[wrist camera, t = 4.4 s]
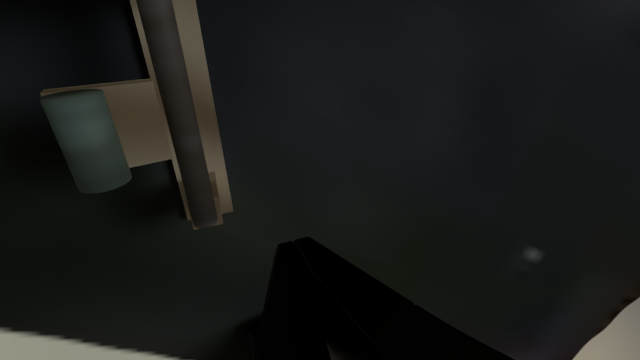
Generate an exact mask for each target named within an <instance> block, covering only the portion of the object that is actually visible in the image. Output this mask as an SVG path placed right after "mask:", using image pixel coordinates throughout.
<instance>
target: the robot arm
mask: <svg viewBox="0 0 640 360" xmlns="http://www.w3.org/2000/svg"><path fill="white" fill-rule="evenodd" d="M247 334H248V339H249V344H250V349H251V354H252V359H253V360H514V359H512V358H510V357H508V356H506V355H504V354H502V353H501V352H499V351H497V350H495V349H493V348H491V347H489V346H487V345H485V344H483V343H481V342H479V341H478V340H476V339H474V338H472V337H470V336H468V335H466V334H465V333H463V332H461V331H459V330H457V329H455V328H454V327H452V326H450V325H449V324H447V323H445V322H444V321H442V320H440V319H439V318H437V317H435V316H434V315H432V314H431V313H429V312H427V311H426V310H424V309H423V308H421V307H419V306H418V305H416V306H415V305H414V303H413V302H411V301H410V300H408V299H407V298H405V297H403V296H402V295H400V294H399V293H397V292H396V291H394V290H392V289H391V288H389V287H388V286H386V285H384V284H383V283H381V282H380V281H378V280H377V279H375V278H373V277H372V276H370V275H369V274H367V273H366V272H364V271H362V270H361V269H359V268H358V267H356V266H355V265H353V264H351V263H350V262H348V261H347V260H345V259H343V258H342V257H340V256H339V255H337V254H336V253H334V252H332V251H331V250H329V249H328V248H326V247H325V246H323V245H321V244H320V243H318V242H317V241H315V240H313V239H312V238H310V237H304V238H300V239H297V240H295V241H294V242H292V241H289V242H285V243H281V244H278V245H277V247H276V251H275V256H274V261H273V266H272V271H271V276H270V281H269V286H268V290H267V295H266V300H265V305H264V310H263V315H262V320H261V322H260V323H257V324H253V325H251V326H249V327H248V329H247Z"/></svg>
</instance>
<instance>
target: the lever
mask: <svg viewBox="0 0 640 360" xmlns="http://www.w3.org/2000/svg"><path fill="white" fill-rule="evenodd" d="M136 2H137V6H138V10H139V14H140V18H141V22H142V26H143V29H144V33H145V37H146V41H147V45H148V49H149V53H150V57H151V61H152V65H153V69H154V72H155V76H156V80H157V84H158V88H159V92H160V96H161V100H162V104H163V108H164V111H165V115H166V119H167V123H168V127H169V131H170V135H171V139H172V143H173V147H174V150H175V154H176V158H177V162H178V166H179V170H180V174H181V178H182V182H183V186H184V189H185V193H186V197H187V201H188V205H189V209H190V213H191V217H192V221H193V225H194V226H195V227H197V228H207V227H210V226H212V225H214V224H215V223H216V222H217V221H218V217H217V212H216V207H215V203H214V198H213V193H212V188H211V184H210V179H209V174H208V169H207V165H206V160H205V155H204V150H203V146H202V141H201V136H200V131H199V126H198V122H197V117H196V112H195V107H194V103H193V98H192V93H191V88H190V84H189V79H188V74H187V69H186V65H185V60H184V55H183V50H182V46H181V41H180V36H179V31H178V27H177V22H176V17H175V12H174V8H173V3H172V0H136ZM40 94H41V97H40V98H39V100H40V102H41V105H42V107H43V109H44V111H45V114H46V116H47V118H48V121H49V123H50V125H51V127H52V130H53V132H54V134H55V137H56V139H57V141H58V144H59V146H60V148H61V150H62V153H63V155H64V157H65V160H66V162H67V164H68V167H69V169H70V171H71V173H72V176H73V178H74V180H75V183H76V185H77V187H78V189H79V191H80V192H82V193H88V194H93V193H101V192H106V191H110V190H113V189H116V188H118V187H121V186H123V185H125V184H126V183H128V182H129V181H130V180H131V178H132V175H131V172H130V169H129V168H131V167H136V166H141V165H145V164H150V163H155V162H160V161H164V160H169V159H173V157H172V153H171V149H170V145H169V141H168V137H167V134H166V130H165V126H164V122H163V118H162V115H161V111H160V107H159V103H158V99H157V96H156V92H155V88H154V84H153V81H152V79H151V78H150V79H140V80H130V81H121V82H111V83H101V84H92V85H82V86H72V87H63V88H53V89H44V90H43V91H42V92H41V93H40Z"/></svg>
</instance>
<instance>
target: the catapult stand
mask: <svg viewBox="0 0 640 360" xmlns="http://www.w3.org/2000/svg"><path fill="white" fill-rule="evenodd" d="M172 3H173V8H174V12H175V17H176V22H177V27H178V31H179V36H180V41H181V46H182V50H183V55H184V60H185V65H186V69H187V74H188V79H189V84H190V88H191V93H192V98H193V103H194V107H195V112H196V117H197V122H198V126H199V131H200V136H201V141H202V146H203V150H204V155H205V160H206V165H207V169H208V174H209V179H210V184H211V188H212V193H213V198H214V203H215V207H216V212H217V217H218V221H217V222H216V223H215V224H214V225H219V224H223V220H222V214H223V213H229V212H233V206H232V201H231V195H230V190H229V184H228V179H227V173H226V168H225V162H224V157H223V151H222V145H221V140H220V134H219V129H218V123H217V118H216V112H215V107H214V101H213V96H212V90H211V84H210V79H209V73H208V68H207V62H206V57H205V51H204V46H203V40H202V35H201V29H200V23H199V18H198V12H197V7H196V1H195V0H172ZM130 4H131V7H132V11H133V15H134V19H135V23H136V26H137V30H138V34H139V38H140V41H141V45H142V49H143V53H144V57H145V60H146V64H147V68H148V72H149V75H150V78H151V79H152V81H153V84H154V88H155V92H156V96H157V99H158V103H159V107H160V111H161V115H162V118H163V122H164V126H165V130H166V134H167V137H168V141H169V145H170V149H171V153H172V157H173V159H172V162H173V166H174V170H175V174H176V178H177V181H178V185H179V189H180V193H181V196H182V200H183V204H184V208H185V212H186V215H187V219H188V220H191V221H192V217H191V213H190V209H189V205H188V201H187V197H186V193H185V189H184V186H183V182H182V178H181V174H180V170H179V166H178V162H177V158H176V154H175V150H174V147H173V143H172V139H171V135H170V131H169V127H168V123H167V119H166V115H165V111H164V108H163V104H162V100H161V96H160V92H159V88H158V84H157V80H156V76H155V72H154V69H153V65H152V61H151V57H150V53H149V49H148V45H147V41H146V37H145V33H144V29H143V26H142V22H141V18H140V14H139V10H138V6H137V2H136V0H130ZM192 225H193V221H192ZM214 225H212V226H214ZM193 229H194V230H195V229H200V228H197V227H195V226H194V225H193Z"/></svg>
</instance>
